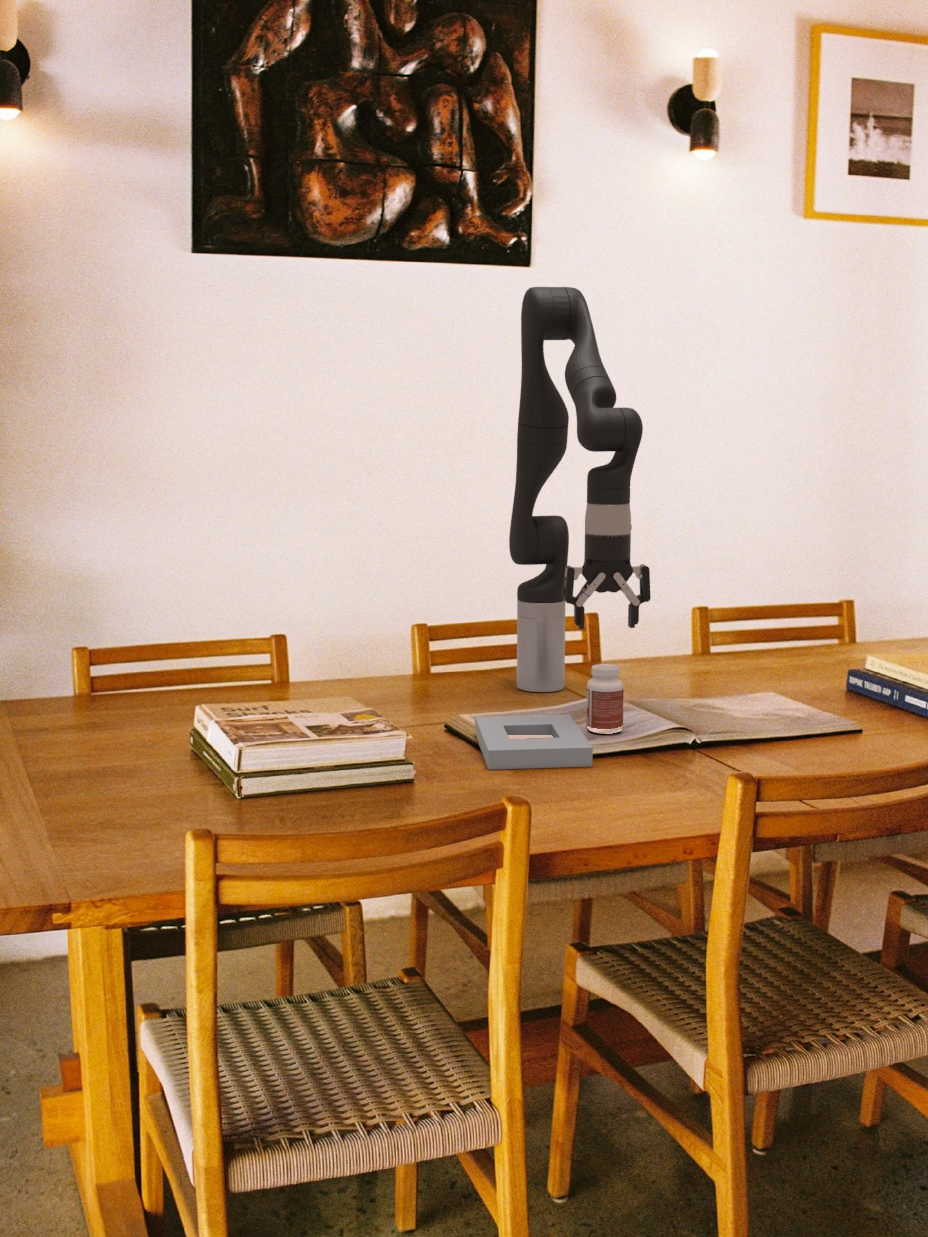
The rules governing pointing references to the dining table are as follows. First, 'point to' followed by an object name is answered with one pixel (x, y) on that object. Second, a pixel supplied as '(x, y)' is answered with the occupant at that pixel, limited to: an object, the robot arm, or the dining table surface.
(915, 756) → the dining table surface
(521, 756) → the socket board
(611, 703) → the pill bottle
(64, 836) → the dining table surface
